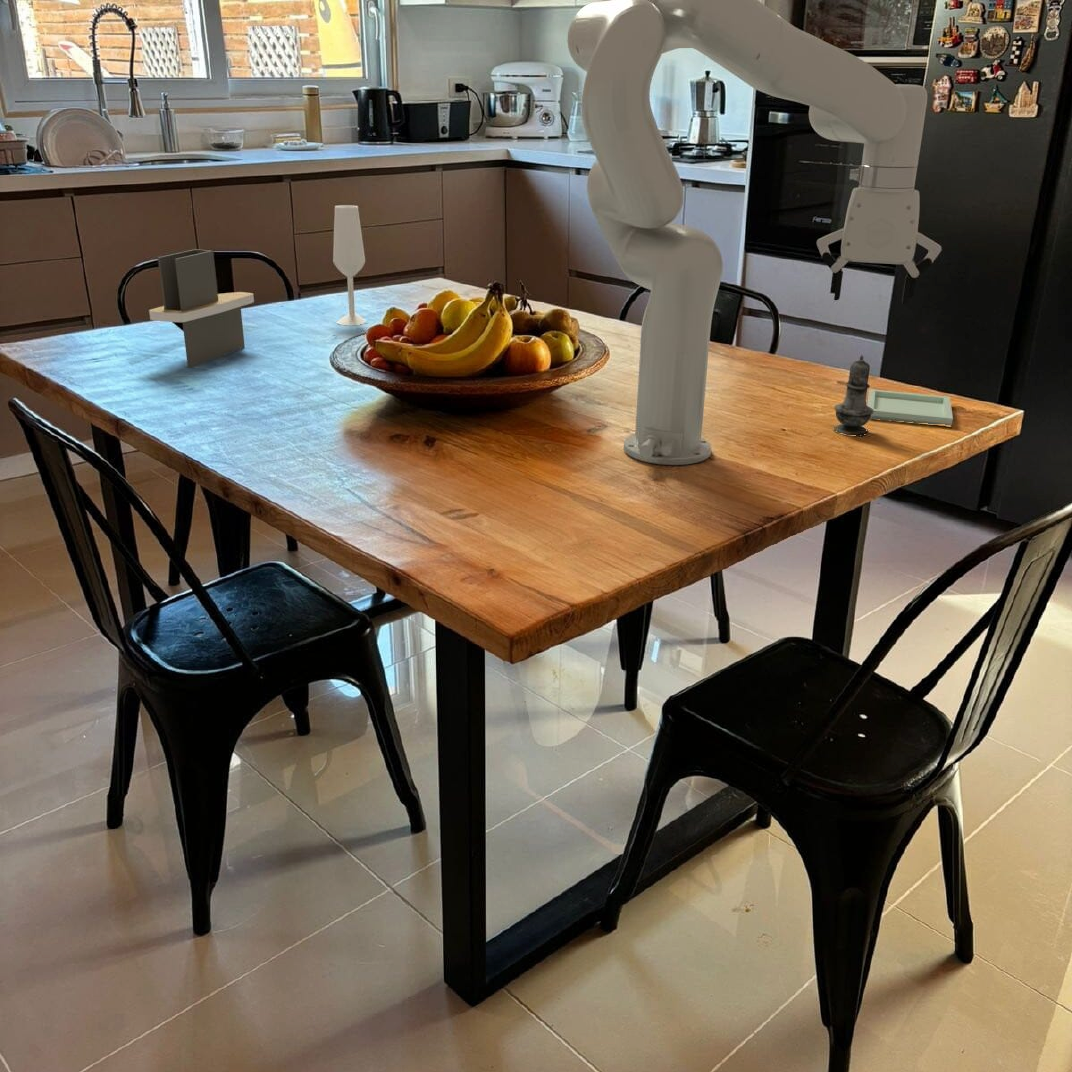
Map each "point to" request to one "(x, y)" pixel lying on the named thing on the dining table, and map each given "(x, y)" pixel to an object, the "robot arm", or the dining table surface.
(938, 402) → the tray
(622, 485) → the dining table surface
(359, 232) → the champagne flute
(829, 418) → the dining table surface
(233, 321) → the architectural model
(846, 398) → the salt shaker
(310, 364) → the dining table surface
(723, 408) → the dining table surface
